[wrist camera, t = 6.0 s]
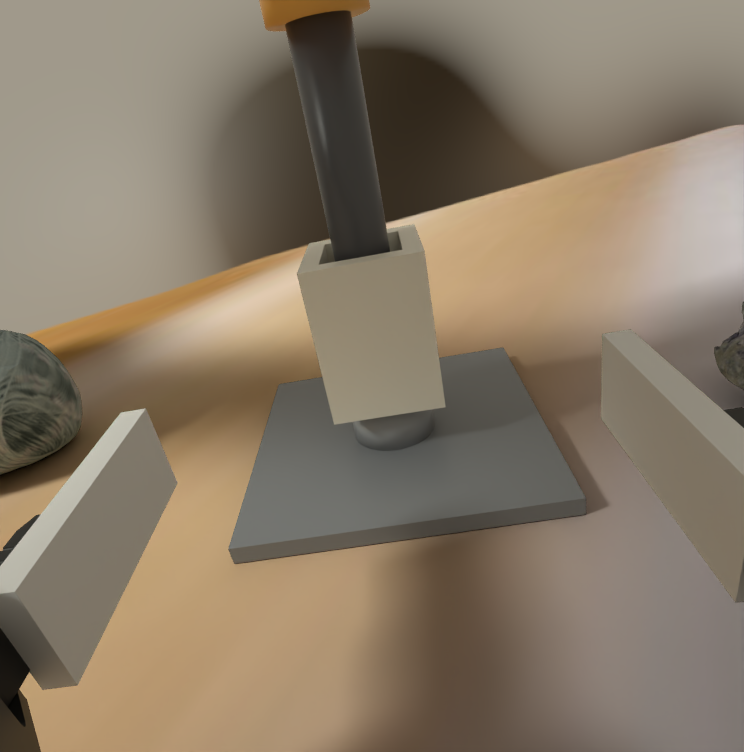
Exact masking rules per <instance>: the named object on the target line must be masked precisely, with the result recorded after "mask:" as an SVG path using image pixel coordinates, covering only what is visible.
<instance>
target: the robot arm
mask: <svg viewBox="0 0 744 752" xmlns="http://www.w3.org/2000/svg"><path fill="white" fill-rule="evenodd" d="M601 419H602V421H603V422H604V423H605V425H606V426H607V427H608V429H609V430H610V432H611V433H612V434H613V436H614V437H615V438H616V440H617V441H618V442H619V444H620V445H621V447H622V448H623V449H624V451H625V452H626V453H627V455H628V456H629V457H630V459H631V460H632V462H633V463H634V464H635V466H636V467H637V468H638V470H639V471H640V473H641V474H642V475H643V477H644V478H645V479H646V481H647V482H648V483H649V485H650V486H651V488H652V489H653V490H654V492H655V493H656V494H657V496H658V497H659V499H660V500H661V501H662V503H663V504H664V505H665V507H666V508H667V509H668V511H669V512H670V514H671V515H672V516H673V518H674V519H675V520H676V522H677V523H678V524H679V526H680V527H681V529H682V530H683V531H684V533H685V534H686V535H687V537H688V538H689V540H690V541H691V542H692V544H693V545H694V546H695V548H696V549H697V550H698V552H699V553H700V555H701V556H702V557H703V559H704V560H705V561H706V563H707V564H708V566H709V567H710V568H711V570H712V571H713V572H714V574H715V575H716V576H717V578H718V579H719V581H720V582H721V583H722V585H723V586H724V587H725V589H726V590H727V591H728V593H729V594H730V596H731V597H732V598H733V600H734V601H735V602H744V408H742V407H741V408H734V409H727V410H722V409H721V408H720V407H719V406H718V405H717V404H716V403H714V402H713V401H712V400H711V399H710V398H709V397H708V396H706V395H705V394H704V393H703V392H702V391H701V390H700V389H698V388H697V387H696V386H695V385H694V384H693V383H692V382H690V381H689V380H688V379H687V378H686V377H685V376H684V375H682V374H681V373H680V372H679V371H678V370H677V369H676V368H674V367H673V366H672V365H671V364H670V363H669V362H668V361H666V360H665V359H664V358H663V357H662V356H661V355H660V354H658V353H657V352H656V351H655V350H654V349H653V348H652V347H650V346H649V345H648V344H647V343H646V342H645V341H644V340H642V339H641V338H640V337H639V336H638V335H637V334H636V333H634V332H633V331H632V330H631V329H629V330H623V331H617V332H611V333H605V334H602V383H601ZM176 485H177V481H176V478H175V476H174V473H173V471H172V469H171V466H170V464H169V462H168V459H167V457H166V455H165V452H164V450H163V448H162V445H161V443H160V441H159V438H158V436H157V433H156V431H155V429H154V426H153V424H152V422H151V419H150V417H149V415H148V412H147V410H146V408H145V409H139V410H133V411H127V412H121V413H120V414H119V416H118V417H117V418H116V419H115V421H114V422H113V423H112V424H111V426H110V427H109V428H108V430H107V431H106V432H105V433H104V435H103V436H102V437H101V438H100V440H99V441H98V442H97V444H96V445H95V446H94V447H93V449H92V450H91V451H90V452H89V454H88V455H87V456H86V458H85V459H84V460H83V461H82V463H81V464H80V465H79V466H78V468H77V469H76V470H75V472H74V473H73V474H72V475H71V477H70V478H69V479H68V481H67V482H66V483H65V484H64V486H63V487H62V488H61V489H60V491H59V492H58V493H57V495H56V496H55V497H54V498H53V500H52V501H51V502H50V503H49V505H48V506H47V507H46V509H45V510H44V511H43V512H42V514H40V515H36V516H35V517H33V518H32V519H31V520H30V521H29V522H27V523H26V524H25V525H24V526H22V527H21V528H20V529H19V530H17V531H16V532H15V534H14V535H13V536H12V537H11V539H10V540H9V541H8V542H7V544H6V545H5V546H4V547H3V551H0V752H41V750H40V747H39V743H38V739H37V735H36V732H35V728H34V724H33V721H32V717H31V713H30V709H29V706H28V702H27V699H26V698H25V697H24V695H23V694H22V693H21V691H20V690H19V688H20V687H21V685H22V683H23V681H24V680H25V678H26V676H27V675H28V673H29V672H30V673H31V674H32V676H33V677H34V678H35V680H36V681H37V683H38V684H39V685H40V687H41V688H42V690H44V689H52V688H60V687H68V686H76V685H78V683H79V681H80V679H81V677H82V675H83V673H84V671H85V669H86V667H87V665H88V663H89V661H90V659H91V657H92V655H93V653H94V651H95V649H96V647H97V645H98V643H99V641H100V639H101V637H102V635H103V633H104V631H105V629H106V627H107V625H108V623H109V621H110V619H111V617H112V615H113V613H114V611H115V609H116V607H117V604H118V602H119V600H120V598H121V596H122V594H123V592H124V590H125V588H126V586H127V584H128V582H129V580H130V578H131V576H132V574H133V572H134V570H135V568H136V566H137V564H138V562H139V560H140V558H141V556H142V554H143V552H144V550H145V548H146V546H147V544H148V542H149V540H150V538H151V536H152V534H153V532H154V530H155V528H156V525H157V523H158V521H159V519H160V517H161V515H162V513H163V511H164V509H165V507H166V505H167V503H168V501H169V499H170V497H171V495H172V493H173V491H174V489H175V487H176Z"/></svg>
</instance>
